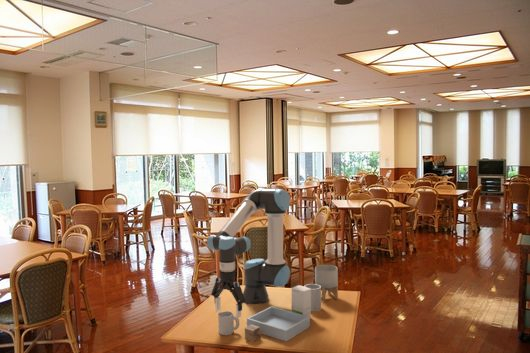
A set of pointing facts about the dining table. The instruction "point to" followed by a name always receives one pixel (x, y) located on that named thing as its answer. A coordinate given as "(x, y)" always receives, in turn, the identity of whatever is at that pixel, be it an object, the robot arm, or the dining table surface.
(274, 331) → the tote
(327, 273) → the planter
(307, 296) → the skincare box
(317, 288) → the cup
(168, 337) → the dining table surface
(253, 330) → the walnut cube
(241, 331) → the dining table surface
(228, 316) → the cup
